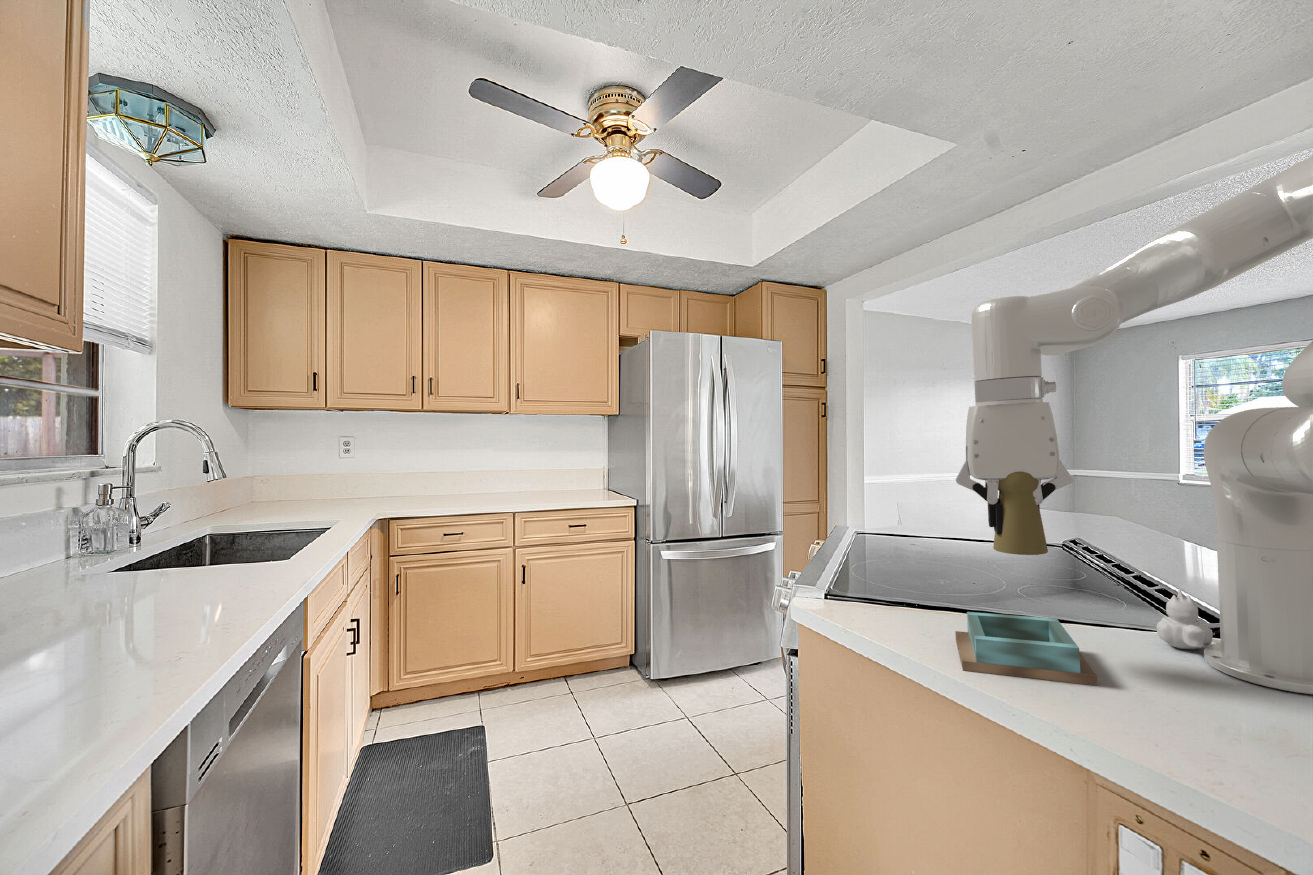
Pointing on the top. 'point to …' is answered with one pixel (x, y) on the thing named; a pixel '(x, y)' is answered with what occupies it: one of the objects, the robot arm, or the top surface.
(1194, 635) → the rubber duck
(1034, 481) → the cork
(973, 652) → the board
